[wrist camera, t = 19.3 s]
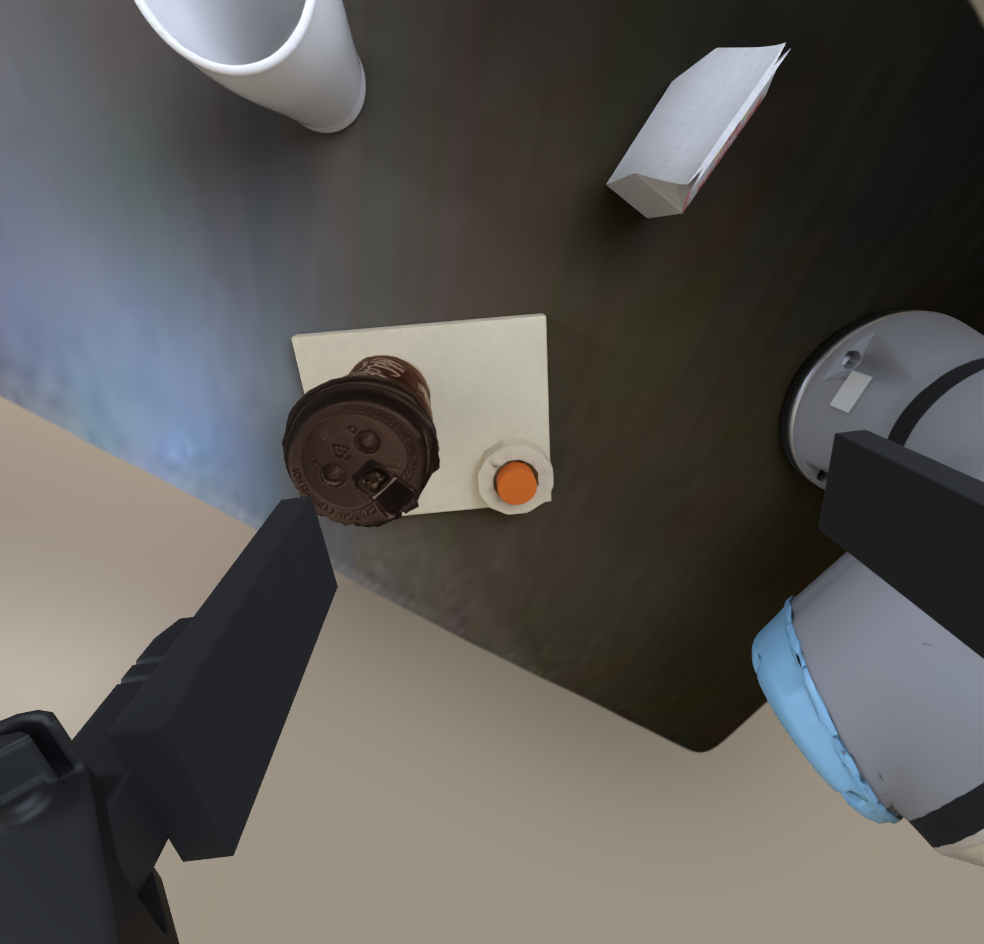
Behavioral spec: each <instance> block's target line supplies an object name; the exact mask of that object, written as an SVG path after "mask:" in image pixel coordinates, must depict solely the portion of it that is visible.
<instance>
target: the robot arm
mask: <svg viewBox="0 0 984 944" xmlns="http://www.w3.org/2000/svg"><path fill="white" fill-rule="evenodd" d="M781 440H782V445H783V448H784V451H785V454H786V456H787V458H788V460H789V461H790V463H791V464H792V466H793V467H794V468H795V469H796V470H797V471H798V472H799V473H800V474H801V475H802V476H804V477H805V478H807V479H808V480H810V481H811V482H812V483H814V484H815V485H817V486H818V487H820V488H822V489H824V490H825V492H824V498H823V504H822V509H821V515H820V521H819V526H818V529H819V530H820V531H821V532H823V533H824V534H825V535H827V536H828V537H829V538H830V539H832V540H833V541H834V542H835V543H837V544H838V545H839V546H841V547H842V548H843V549H844V550H846V551H847V552H846V553H845V554H844V555H842V556H841V557H840V558H839V559H838V560H837V561H836V562H835V563H833V564H832V565H831V566H830V567H829V568H828V569H827V570H825V571H824V572H823V573H822V574H821V575H820V576H819V577H817V578H816V579H815V580H814V581H813V582H812V583H811V584H809V585H808V586H807V587H806V588H805V589H804V590H803V591H802V592H800V593H799V594H798V595H797V596H791V597H790V598H788V599H787V600H786V602H785V604H784V608H783V609H782V610H781V611H780V612H779V613H778V614H777V615H776V616H775V617H774V618H773V619H772V620H771V621H770V622H769V623H768V624H767V625H766V626H765V627H764V628H763V629H762V630H761V631H760V632H759V633H758V634H757V636H756V637H755V639H754V642H753V646H752V661H753V666H754V669H755V672H756V674H757V678H758V681H759V684H760V686H761V688H762V690H763V692H764V694H765V696H766V698H767V700H768V702H769V704H770V705H771V707H772V709H773V711H774V712H775V714H776V715H777V717H778V719H779V720H780V722H781V724H782V725H783V727H784V728H785V730H786V731H787V733H788V734H789V735H790V737H791V738H792V740H793V741H794V743H795V744H796V745H797V747H798V748H799V749H800V751H801V752H802V753H803V755H804V756H805V757H806V759H807V760H808V761H809V762H810V764H811V765H812V766H813V767H814V769H815V770H816V771H817V772H818V773H819V775H820V776H821V777H822V778H823V779H824V780H825V781H826V782H827V784H828V785H829V786H830V787H831V788H832V789H834V790H835V791H837V792H840V793H841V795H842V796H843V797H844V799H845V800H846V801H847V803H848V804H849V805H850V806H851V807H852V808H853V809H854V810H856V811H857V812H858V813H860V814H861V815H862V816H864V817H865V818H867V819H869V820H872V821H874V822H877V823H887V822H890V823H897V822H898V821H900V820H902V818H903V817H904V818H905V819H906V820H908V821H909V822H910V823H911V824H912V826H913V827H914V828H915V829H916V830H917V831H918V832H919V833H920V834H921V835H922V836H923V837H924V838H925V839H926V840H927V842H928V843H929V844H930V845H931V846H932V847H933V848H934V849H935V850H936V851H937V852H938V853H939V854H941V855H945V856H948V857H952V858H955V859H958V860H961V861H965V862H968V863H972V864H975V865H978V866H982V867H984V336H983V335H982V334H980V333H979V332H977V331H975V330H974V329H972V328H971V327H969V326H968V325H966V324H964V323H963V322H961V321H959V320H957V319H955V318H953V317H951V316H948V315H945V314H942V313H937V312H932V311H925V310H917V309H892V310H886V311H881V312H877V313H874V314H871V315H868V316H866V317H863V318H861V319H859V320H857V321H855V322H853V323H851V324H849V325H847V326H846V327H844V328H843V329H841V330H839V331H838V332H837V333H835V334H834V335H833V336H831V337H830V338H829V339H828V340H826V341H825V342H824V343H823V344H822V345H821V346H820V347H819V348H818V349H817V350H816V351H815V352H814V353H813V354H812V355H811V356H810V358H809V359H808V360H807V361H806V362H805V364H804V365H803V367H802V368H801V369H800V371H799V372H798V374H797V376H796V377H795V379H794V381H793V383H792V385H791V387H790V389H789V392H788V394H787V396H786V400H785V403H784V406H783V411H782V416H781ZM337 587H338V586H337V583H336V579H335V576H334V572H333V569H332V565H331V562H330V558H329V555H328V551H327V548H326V544H325V541H324V538H323V534H322V531H321V527H320V524H319V520H318V517H317V513H316V510H315V506H314V503H313V499H312V496H310V497H302V498H293V499H285V500H281V501H280V502H279V504H278V505H277V506H276V508H275V509H274V510H273V512H272V513H271V514H270V516H269V517H268V518H267V520H266V521H265V522H264V524H263V525H262V526H261V528H260V529H259V530H258V532H257V533H256V534H255V536H254V537H253V538H252V540H251V541H250V542H249V544H248V545H247V546H246V548H245V549H244V550H243V552H242V553H241V554H240V556H239V557H238V558H237V560H236V561H235V562H234V564H233V565H232V566H231V568H230V569H229V570H228V572H227V573H226V574H225V576H224V577H223V578H222V580H221V581H220V582H219V584H218V585H217V586H216V588H215V589H214V590H213V592H212V593H211V594H210V596H209V597H208V598H207V600H206V601H205V602H204V604H203V605H202V606H201V608H200V609H199V610H198V612H197V613H196V614H195V616H194V617H190V618H182V619H179V620H178V621H176V622H175V623H174V624H173V625H171V626H170V627H169V628H167V629H166V630H165V631H163V632H162V633H161V634H160V635H158V636H157V637H156V638H154V640H153V641H152V642H151V643H150V645H149V646H148V647H147V648H146V650H145V651H144V652H143V653H142V654H141V656H140V657H139V658H138V659H137V661H136V662H137V663H136V665H132V667H131V668H130V669H129V670H128V672H127V673H126V674H125V675H124V677H123V678H122V679H121V684H117V685H116V686H115V688H114V689H113V690H112V692H111V693H110V694H109V695H108V696H107V698H106V699H105V700H104V701H103V703H102V704H101V705H100V706H99V708H98V709H97V710H96V711H95V712H94V714H93V715H92V716H91V717H90V719H89V720H88V721H87V722H86V724H85V725H84V726H83V727H82V729H81V730H80V731H79V732H78V733H77V735H76V736H75V737H74V738H73V740H71V739H70V737H69V736H68V734H67V733H66V731H65V729H64V728H63V726H62V725H61V723H60V722H59V720H58V719H57V717H56V716H55V715H54V713H53V712H48V711H42V710H35V711H30V712H25V713H20V714H16V715H14V716H11V717H9V718H7V719H4V720H1V721H0V944H179V941H178V937H177V934H176V930H175V926H174V923H173V919H172V915H171V912H170V908H169V904H168V901H167V897H166V893H165V889H164V886H163V882H162V879H161V877H160V876H159V874H158V873H157V871H156V869H155V868H154V866H155V863H156V861H157V860H158V858H159V856H160V854H161V852H162V850H163V848H164V846H165V844H166V842H167V840H168V838H169V840H170V841H171V843H172V844H173V846H174V848H175V849H176V851H177V853H178V854H179V856H180V858H181V859H182V861H183V862H185V861H194V860H202V859H210V858H218V857H227V856H233V855H234V853H235V850H236V848H237V845H238V842H239V840H240V837H241V835H242V832H243V830H244V827H245V825H246V822H247V819H248V817H249V814H250V812H251V809H252V806H253V804H254V801H255V799H256V796H257V794H258V791H259V788H260V786H261V783H262V780H263V778H264V775H265V773H266V770H267V768H268V765H269V763H270V760H271V757H272V755H273V752H274V750H275V747H276V744H277V742H278V739H279V736H280V734H281V732H282V729H283V726H284V724H285V721H286V718H287V716H288V713H289V711H290V708H291V706H292V703H293V700H294V698H295V695H296V693H297V690H298V687H299V685H300V682H301V680H302V677H303V675H304V672H305V669H306V667H307V664H308V662H309V659H310V656H311V654H312V651H313V649H314V646H315V643H316V641H317V638H318V636H319V633H320V631H321V628H322V625H323V623H324V620H325V618H326V615H327V613H328V610H329V607H330V605H331V602H332V600H333V597H334V594H335V592H336V589H337Z"/></svg>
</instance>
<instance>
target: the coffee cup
mask: <svg viewBox="0 0 984 944" xmlns="http://www.w3.org/2000/svg"><path fill="white" fill-rule="evenodd" d="M282 446H283V451H284V460H285V464H286V468H287V471H288V473H289V476H290V478H291V479H292V481H293V483H294V485H295V488H296V489H297V490H298V491H299V494H300V497H301V498H302V497H310V496H312V499H313V503H314V506H315V510H316V513H317V514H318V515H320V516H327V517H328V518H329V519H330V520H332V521H335V522H340V523H342V524H343V525H350V524H355V525H356V526H364V527H372V526H376V527H379V526H382V525H383V524H386V523H388V522H390V521H392V520H395V519H399V518H401V516H402V512H404V513H405V514H407V513H408V512H410V511H412V510H414V509H415V508H417V507H419V504H418V499H419V497H420V495H421V493H422V491H423V490H424V488H425V486H426V485H427V483H428V481H429V479H430V477H431V475H432V474H433V473H434V472H436V471H437V470H438V469H439V468H440V458H439V454H438V452H439V444H438V439H437V433H436V428H435V426H434V423H433V416H432V410H431V400H430V387H429V386H428V384H427V380H426V377H425V376H424V375H423V374H422V372H421V371H420V369H419V368H417V367H416V366H415V365H414V364H412V363H410V362H408V361H405V360H403V359H400V358H398V357H395V356H390V355H381V354H379V355H374V356H372V357H366V358H364V359H362V360H361V361H359V362H358V363H357V364H356V365H355V366H354V367H353V369H352V370H351V371H350V373H349V374H348V375H346V376H344V377H341V378H337V379H331V380H329V381H327V382H325V383H322V384H320V385H318V386H316V387H315V388H312V389H310V390H309V391H307V393H306V394H305V395H304V396H303V397H301V398H300V399H299V401H298V402H297V403H296V404H295V405H294V406H293V408H292V409H291V411H290V413H289V415H288V420H287V424H286V430H285V434H284V437H283V441H282Z"/></svg>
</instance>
